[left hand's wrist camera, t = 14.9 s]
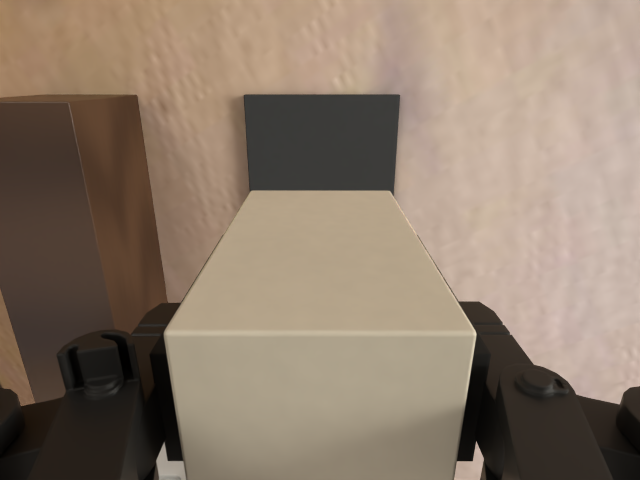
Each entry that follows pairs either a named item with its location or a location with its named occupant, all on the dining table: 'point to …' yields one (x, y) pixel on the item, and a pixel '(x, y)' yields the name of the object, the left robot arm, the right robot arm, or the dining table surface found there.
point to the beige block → (320, 347)
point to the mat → (321, 142)
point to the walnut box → (74, 225)
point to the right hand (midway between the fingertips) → (125, 393)
